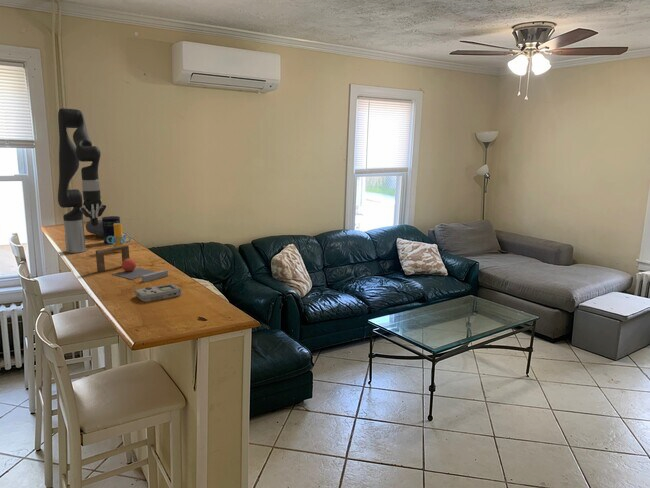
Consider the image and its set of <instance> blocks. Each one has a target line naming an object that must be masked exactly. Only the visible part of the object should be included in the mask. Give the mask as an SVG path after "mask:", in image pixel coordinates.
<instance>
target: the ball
mask: <svg viewBox="0 0 650 488" xmlns="http://www.w3.org/2000/svg"><path fill="white" fill-rule="evenodd" d="M121 262H122V261H121ZM136 266H137V264H136V261H135V260H134V259H132V258H130V259H125V260H124V261H123V262H122V263H121V268H122V270H124V271H127V272H131V271H133V270H134V269H136Z"/></svg>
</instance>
